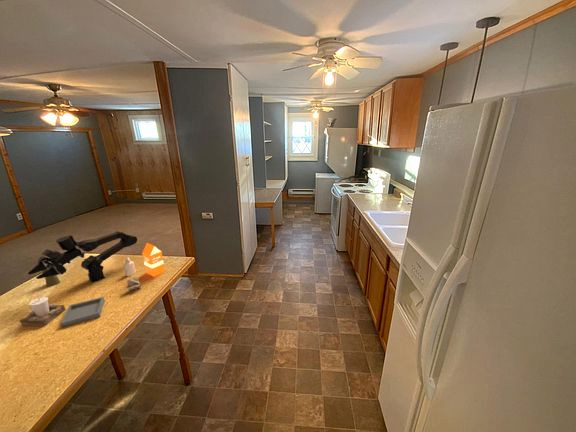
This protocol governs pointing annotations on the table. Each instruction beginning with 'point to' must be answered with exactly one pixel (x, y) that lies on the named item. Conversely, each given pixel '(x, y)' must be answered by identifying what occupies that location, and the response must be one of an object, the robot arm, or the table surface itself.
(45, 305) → the smoothie
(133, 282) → the architectural model
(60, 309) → the clip collar
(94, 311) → the tray
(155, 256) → the orange juice
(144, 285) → the table surface
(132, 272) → the eye dropper bottle
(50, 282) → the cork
